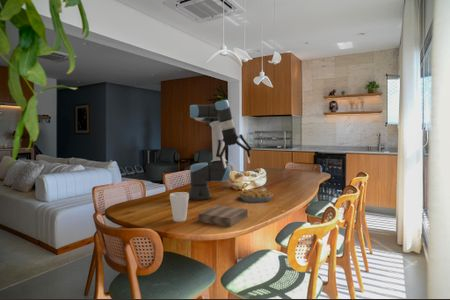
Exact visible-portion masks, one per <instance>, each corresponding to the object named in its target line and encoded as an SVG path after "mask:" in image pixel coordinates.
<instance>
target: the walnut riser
mask: <svg viewBox="0 0 450 300" xmlns="http://www.w3.org/2000/svg"><path fill="white" fill-rule="evenodd" d="M248 212H249V211H248V208H240V207H233V206H225V205H214V206H212V207H210V208H208V209H205V210H203V211H201V212H199V213H198V215H197V216H198V222H200V223H206V224H212V225H218V226H222V227H230V228H232V227H233V226H235V225H236V224H238V223H240V222H241V221H243V220H245V219H247V218H248V216H249V215H248Z"/></svg>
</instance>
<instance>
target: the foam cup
mask: <svg viewBox="0 0 450 300" xmlns="http://www.w3.org/2000/svg"><path fill="white" fill-rule="evenodd" d="M169 200H170V207H171V212H172V213H171V214H172V220H173V222H176V223H177V222H184V221H186V220H187V218H188V217H187V216H188V215H187V214H188V207H189V206H188V205H189V200H190V199H189V192H185V191H181V192H180V191H177V192H176V191H175V192H172V193H170V194H169Z"/></svg>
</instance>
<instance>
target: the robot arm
mask: <svg viewBox="0 0 450 300" xmlns="http://www.w3.org/2000/svg"><path fill="white" fill-rule="evenodd" d="M230 106H231V105H230V103H229V100H228V99H224V100H219V101H216V102H215V103H214V104H191V105H189V117H190V118H191V119H194V120H195V121H198V122H199V123H200V122H201V123H209V126H210V127H211V142H212V146H211V147H212V149H211V150H212V160H211V161H210V164H209V163H208V162H199V163H193V164H192V165H190V169H189V173H190V186H189V191H188V193H189V199H188V200H191V201H203V200H205V201H206V200H209V199H211V197H212V195H211V191H210V188H209V183H217V182H218V183H220V182H221V183H222V182H228V181H229V179H230V174H231V163H228V162H229V161H228V160H227V159H226V149H227V147H228V146H234V145H237V146H239V147H240V148H242V149H243V150H245V156H246V160H247V163H248V164H250V163H251V162H250V158H251V154H250V153H251V152H250V150H252V145H250V143H249V142H248V141H247V140H246V139H245V138H244V135H243V134H241V133H240V134H237V131H236V128H235V123H234V119H233V115H232V111H231V107H230ZM239 139H240V140H241V141H242V142H243V143H244V144H243V143H242V142H240V141H239Z"/></svg>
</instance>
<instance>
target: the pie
mask: <svg viewBox="0 0 450 300" xmlns="http://www.w3.org/2000/svg"><path fill="white" fill-rule="evenodd" d="M239 196H240V199H241V200H242V201H244V202H248V203H264V202H269V201H271V199H272V197H273V192H271V191H267V190H262V189H258V190H257V189H252V190H251V189H248V190H242V191H240V192H239Z"/></svg>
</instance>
